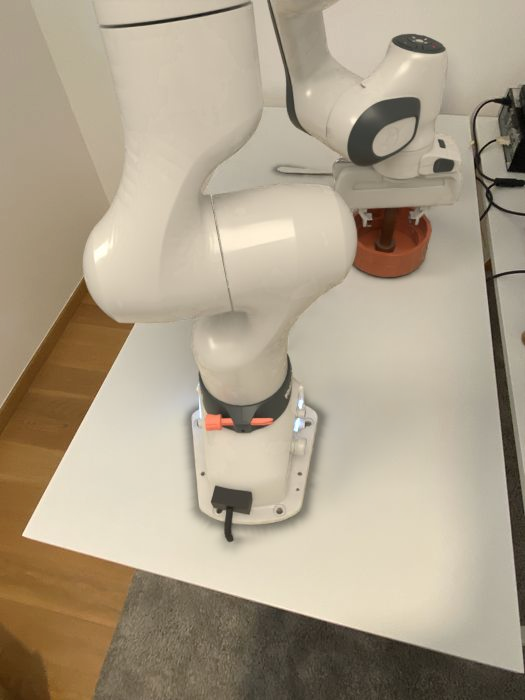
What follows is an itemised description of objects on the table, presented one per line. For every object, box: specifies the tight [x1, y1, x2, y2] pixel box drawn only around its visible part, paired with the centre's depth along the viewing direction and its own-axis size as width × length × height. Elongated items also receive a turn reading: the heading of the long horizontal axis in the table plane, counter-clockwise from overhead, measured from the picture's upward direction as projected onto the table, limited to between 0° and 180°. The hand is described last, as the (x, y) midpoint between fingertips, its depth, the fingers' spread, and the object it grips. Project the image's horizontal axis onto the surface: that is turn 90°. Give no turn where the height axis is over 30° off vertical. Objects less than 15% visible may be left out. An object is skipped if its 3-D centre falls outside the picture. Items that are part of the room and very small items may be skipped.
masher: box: [375, 207, 398, 253], centre depth 88 cm, size 4×4×12 cm
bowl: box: [352, 207, 433, 278], centre depth 91 cm, size 14×14×6 cm
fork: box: [276, 166, 332, 175], centre depth 107 cm, size 3×24×2 cm, turn 72°
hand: (389, 223), depth 88 cm, fingers open, 6 cm apart
